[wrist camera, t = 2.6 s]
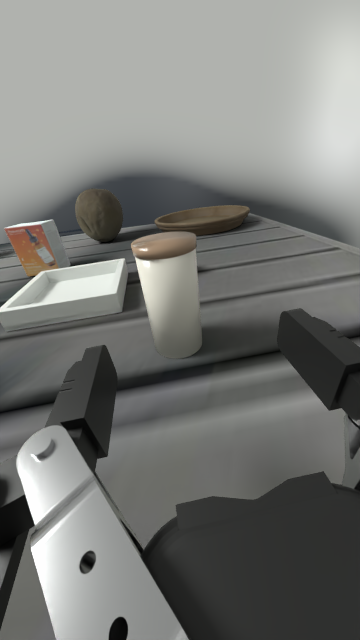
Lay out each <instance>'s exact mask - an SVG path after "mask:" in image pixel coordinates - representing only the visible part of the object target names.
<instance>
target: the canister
mask: <svg viewBox="0 0 360 640" xmlns="http://www.w3.org/2000/svg"><path fill="white" fill-rule="evenodd" d="M131 247H132V251H133V255H134V257H135V259H136V263H137V268H138V272H139V277H140V281H141V285H142V290H143V294H144V299H145V303H146V308H147V312H148V316H149V321H150V325H151V330H152V334H153V338H154V343H155V347H156V350H157V352H158V353H159V354H160V355H162V356H164V357H166V358H171V359H180V358H185V357H188V356H191V355H193V354H194V353H196V352H197V351H198V350H199V349H200V348H201V346H202V328H201V314H200V301H199V288H198V275H197V261H196V247H197V246H196V235H195V234H193V233H190V232H165V233H158V234H153V235H149V236H145V237H142V238H139V239H137V240H135V241H133V242H132V243H131Z"/></svg>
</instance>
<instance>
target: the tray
mask: <svg viewBox="0 0 360 640" xmlns="http://www.w3.org/2000/svg"><path fill="white" fill-rule="evenodd" d="M127 278H128V270H127V266H126V262H125V258H124V259H117V260H111V261H105V262H98V263H92V264H85V265H79V266H72V267H66V268H60V269H53V270H47V271H41V272H40V273H39V274H38V275H37V276H35V277H34V278H33V279H32V280H31V281H30V282H29V283H28V284H26V285H25V286H24V287H23V288H22V289H21V290H20V291H19V292H17V293H16V294H15V295H14V296H13V297H12V298H11V299H10V300H8V301H7V302H6V303H5V304H4V305H3V306H2V307H1V308H0V323H1V324H2V326H3V327H4V329H5V330H6V332H8V331H13V330H19V329H25V328H31V327H37V326H43V325H49V324H55V323H61V322H67V321H73V320H79V319H85V318H90V317H96V316H102V315H108V314H114V313H120V312H122V309H123V303H124V296H125V290H126V284H127Z"/></svg>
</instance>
